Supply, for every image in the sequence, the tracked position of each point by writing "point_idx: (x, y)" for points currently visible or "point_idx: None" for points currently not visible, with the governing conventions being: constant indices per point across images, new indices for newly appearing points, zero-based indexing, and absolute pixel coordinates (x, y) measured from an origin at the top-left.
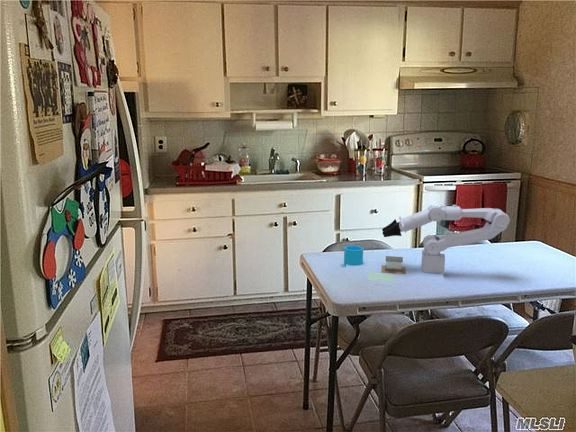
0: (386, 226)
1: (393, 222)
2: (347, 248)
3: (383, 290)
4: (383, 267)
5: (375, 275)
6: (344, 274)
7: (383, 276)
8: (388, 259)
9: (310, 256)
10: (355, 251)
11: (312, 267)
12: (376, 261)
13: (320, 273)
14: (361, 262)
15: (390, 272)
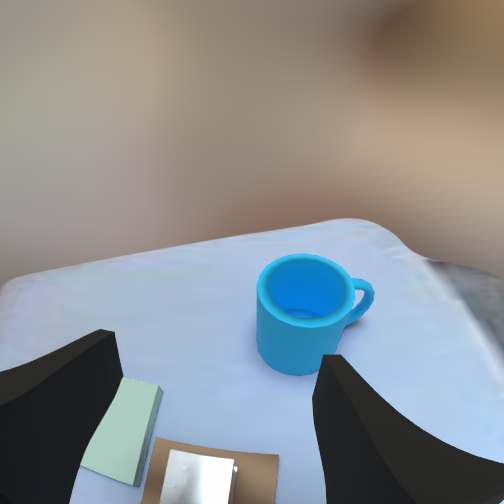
0: (350, 388)
1: (390, 485)
2: (320, 269)
3: None
4: (240, 461)
5: (117, 403)
6: (183, 310)
7: (103, 432)
8: (168, 465)
9: (358, 228)
10: (257, 296)
11: (252, 234)
12: None
13: (195, 252)
14: (279, 359)
15: (158, 479)
